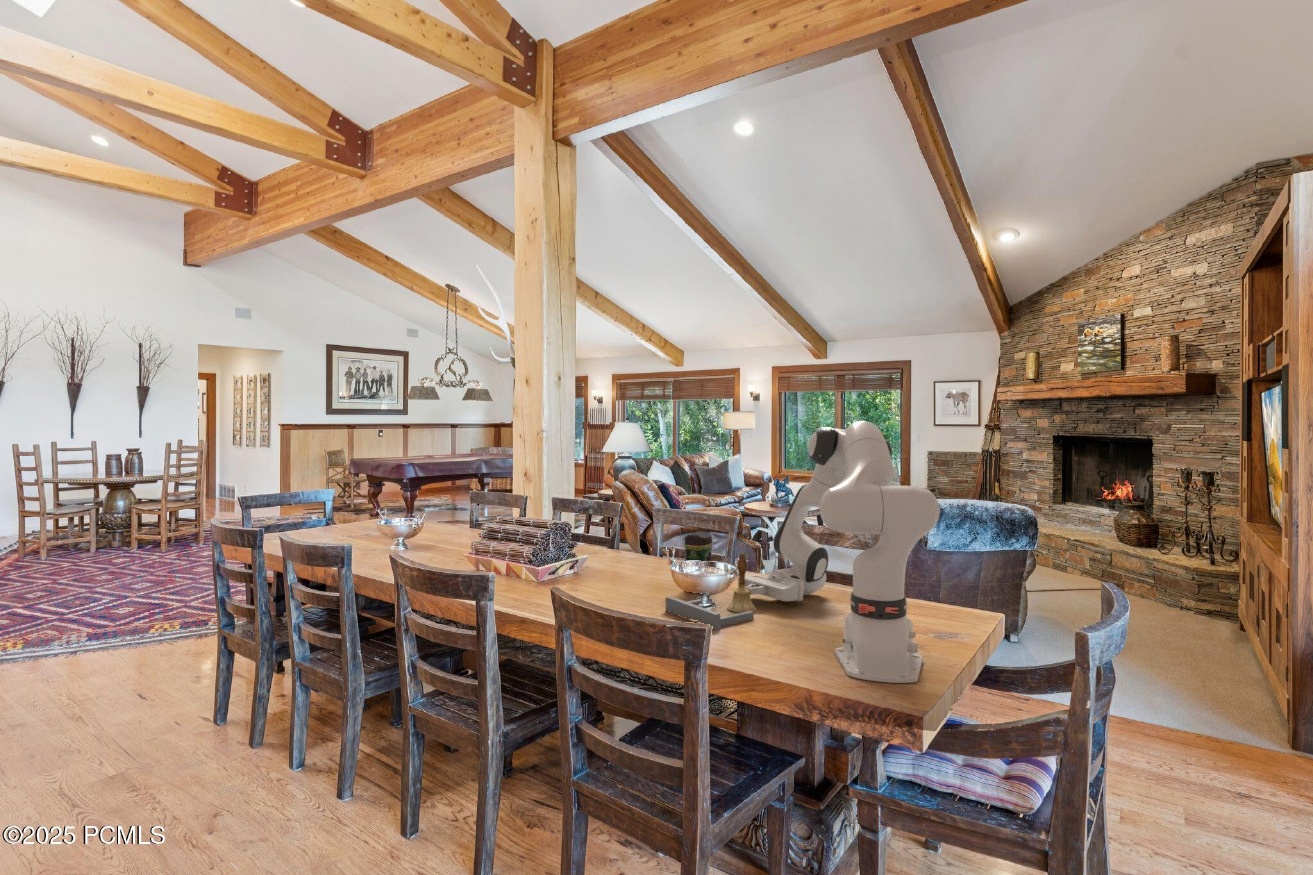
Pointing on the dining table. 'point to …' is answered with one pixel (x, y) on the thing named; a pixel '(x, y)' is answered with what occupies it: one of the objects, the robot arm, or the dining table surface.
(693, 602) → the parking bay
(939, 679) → the dining table surface
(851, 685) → the dining table surface
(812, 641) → the dining table surface
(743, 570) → the hand bell
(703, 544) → the coffee jar
